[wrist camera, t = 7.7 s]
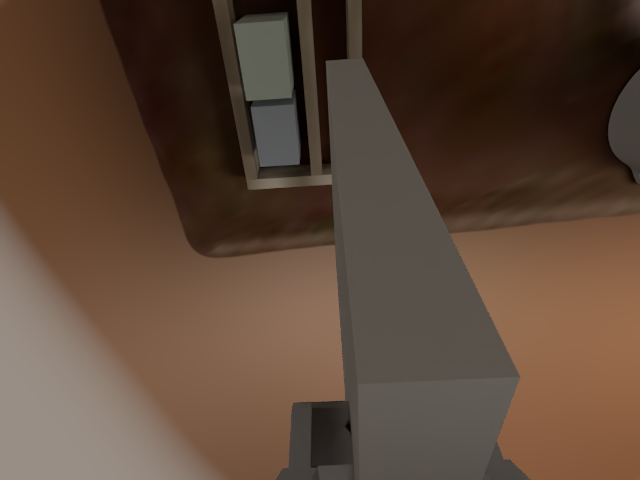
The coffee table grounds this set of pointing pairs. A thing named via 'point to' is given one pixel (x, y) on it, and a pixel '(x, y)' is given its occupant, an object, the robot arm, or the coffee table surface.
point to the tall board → (406, 306)
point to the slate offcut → (277, 131)
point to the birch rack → (241, 107)
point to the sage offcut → (265, 55)
